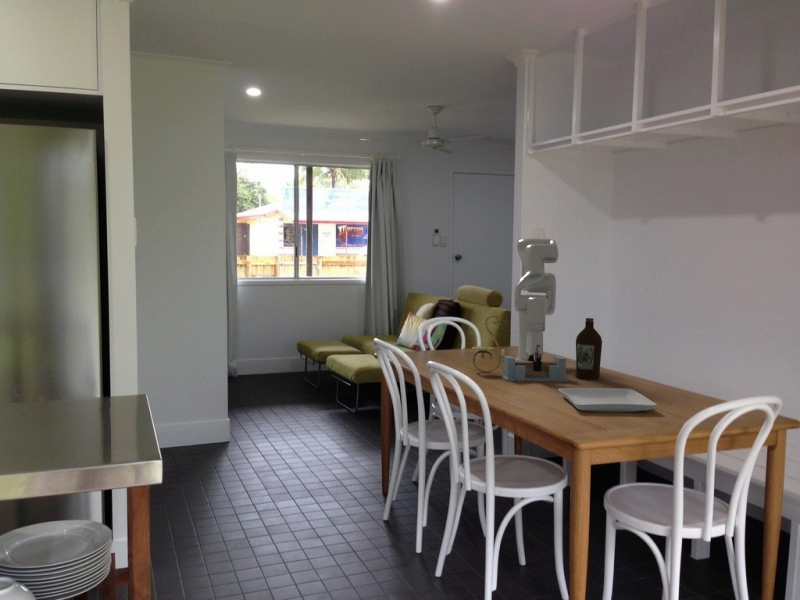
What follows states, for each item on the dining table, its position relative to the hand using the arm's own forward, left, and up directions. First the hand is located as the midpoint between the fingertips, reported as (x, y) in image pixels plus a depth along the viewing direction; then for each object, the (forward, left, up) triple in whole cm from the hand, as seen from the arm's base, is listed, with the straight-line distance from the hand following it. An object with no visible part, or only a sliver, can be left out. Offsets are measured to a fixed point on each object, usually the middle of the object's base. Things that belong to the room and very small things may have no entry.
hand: (534, 369), depth 292 cm
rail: (0, 0, -3) cm, 3 cm away
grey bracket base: (0, 0, -4) cm, 4 cm away
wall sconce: (-14, -17, -4) cm, 22 cm away
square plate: (+47, +13, -5) cm, 49 cm away
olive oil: (-2, +23, -4) cm, 23 cm away
